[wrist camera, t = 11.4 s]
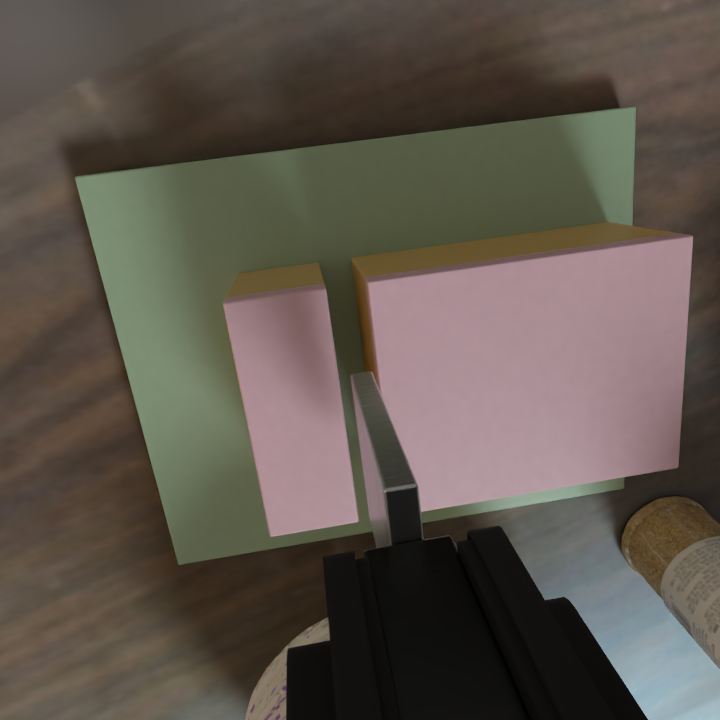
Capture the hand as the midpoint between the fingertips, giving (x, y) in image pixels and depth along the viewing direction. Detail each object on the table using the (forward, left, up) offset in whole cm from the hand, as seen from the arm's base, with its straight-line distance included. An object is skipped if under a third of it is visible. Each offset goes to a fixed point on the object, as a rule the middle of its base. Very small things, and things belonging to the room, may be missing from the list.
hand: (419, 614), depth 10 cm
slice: (0, -2, -14) cm, 14 cm away
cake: (0, +6, -14) cm, 15 cm away
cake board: (0, +2, -15) cm, 15 cm away
